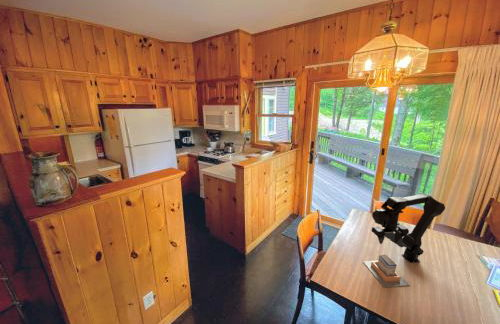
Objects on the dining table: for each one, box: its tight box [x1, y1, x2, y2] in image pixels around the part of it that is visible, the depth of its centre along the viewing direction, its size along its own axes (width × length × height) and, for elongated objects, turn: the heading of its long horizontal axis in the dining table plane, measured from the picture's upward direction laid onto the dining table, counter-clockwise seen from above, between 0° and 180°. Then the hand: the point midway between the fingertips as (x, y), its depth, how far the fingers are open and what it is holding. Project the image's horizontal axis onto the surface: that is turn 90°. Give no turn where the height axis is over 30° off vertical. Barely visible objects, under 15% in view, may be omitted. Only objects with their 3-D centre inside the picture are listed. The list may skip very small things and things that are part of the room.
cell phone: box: [385, 232, 404, 248], centre depth 143 cm, size 9×18×1 cm, turn 15°
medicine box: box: [377, 254, 397, 277], centre depth 113 cm, size 8×4×9 cm, turn 4°
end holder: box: [362, 259, 411, 289], centre depth 113 cm, size 14×18×3 cm
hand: (387, 243), depth 119 cm, fingers open, 9 cm apart
